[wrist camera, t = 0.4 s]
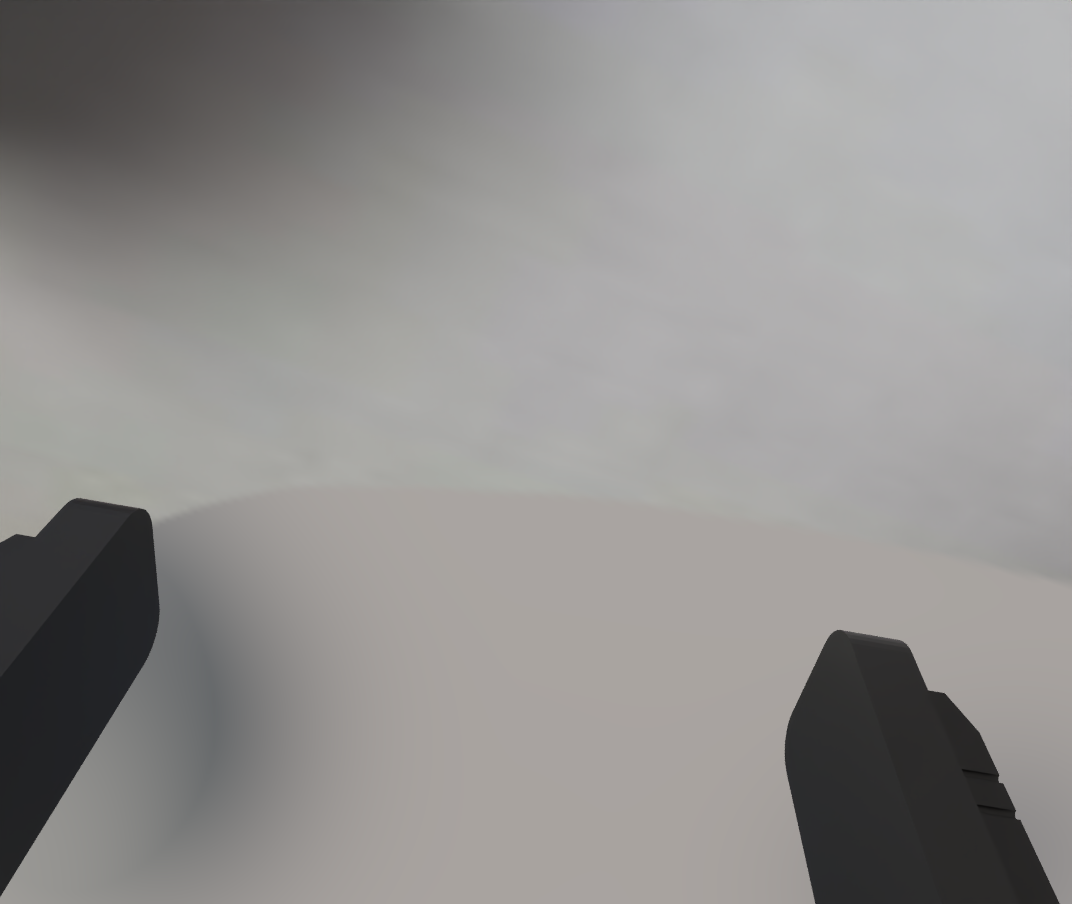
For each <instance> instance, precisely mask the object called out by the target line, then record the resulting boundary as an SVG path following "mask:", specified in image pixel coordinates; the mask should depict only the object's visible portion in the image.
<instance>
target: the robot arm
mask: <svg viewBox="0 0 1072 904" xmlns="http://www.w3.org/2000/svg"><path fill="white" fill-rule="evenodd" d="M159 610H160V609H159V596H158V585H157V573H156V564H155V551H154V540H153V529H152V521H151V518H150V515H149V514H148V512H147V511H146V510H144V509H140V508H134V507H128V506H123V505H117V504H111V503H105V502H99V501H93V500H87V499H82V498H76V499H73V500H71V501H70V502H68V503H67V504H66V505H65V506H64V507H63V508H62V509H61V510H60V511H59V512H58V513H57V514H56V515H55V516H54V517H53V519H52V520H51V521H50V522H49V523H48V524H47V525H46V526H45V527H44V528H43V529H42V530H41V532H40V533H39V534H38V535H37V536H36V537H30V536H24V535H19V534H16V535H14V536H12V537H10V538H8V539H6V540H5V541H3V542H1V543H0V896H1V895H2V893H3V891H4V890H5V888H6V887H7V885H8V883H9V882H10V880H11V878H12V877H13V875H14V874H15V872H16V870H17V869H18V867H19V866H20V864H21V862H22V861H23V859H24V857H25V856H26V854H27V853H28V851H29V849H30V848H31V846H32V845H33V843H34V841H35V840H36V838H37V836H38V835H39V833H40V832H41V830H42V828H43V827H44V825H45V824H46V822H47V820H48V819H49V817H50V815H51V814H52V812H53V811H54V809H55V807H56V806H57V804H58V802H59V801H60V799H61V798H62V796H63V794H64V793H65V791H66V790H67V788H68V786H69V784H70V783H71V781H72V780H73V778H74V777H75V775H76V773H77V772H78V770H79V769H80V766H81V765H82V764H83V762H84V760H85V759H86V757H87V756H88V754H89V752H90V751H91V749H92V747H93V746H94V744H95V743H96V741H97V739H98V738H99V736H100V734H101V733H102V731H103V730H104V728H105V726H106V724H107V723H108V722H109V720H110V718H111V717H112V715H113V714H114V712H115V710H116V709H117V707H118V705H119V704H120V702H121V700H122V699H123V697H124V696H125V694H126V692H127V691H128V689H129V688H130V686H131V684H132V683H133V681H134V680H135V678H136V676H137V675H138V673H139V671H140V670H141V668H142V667H143V665H144V663H145V661H146V660H147V658H148V656H149V653H150V651H151V649H152V646H153V643H154V640H155V637H156V633H157V628H158V622H159V612H160V611H159ZM785 765H786V771H787V775H788V781H789V785H790V790H791V794H792V799H793V803H794V808H795V813H796V817H797V822H798V826H799V831H800V835H801V840H802V845H803V849H804V853H805V858H806V863H807V867H808V872H809V876H810V881H811V886H812V890H813V895H814V899H815V903H816V904H1059V902H1058V899H1057V897H1056V895H1055V893H1054V891H1053V889H1052V887H1051V885H1050V883H1049V880H1048V878H1047V876H1046V874H1045V872H1044V870H1043V867H1042V865H1041V863H1040V861H1039V859H1038V857H1037V855H1036V853H1035V850H1034V848H1033V846H1032V844H1031V842H1030V840H1029V838H1028V835H1027V833H1026V831H1025V829H1024V827H1023V825H1022V823H1021V820H1017V819H1016V818H1015V812H1016V810H1015V808H1014V806H1013V803H1012V801H1011V799H1010V797H1009V795H1008V793H1007V791H1006V788H1005V787H1004V784H1002V783H999V781H998V777H999V774H998V771H997V769H996V767H995V765H994V763H993V761H992V759H991V757H990V754H989V752H988V750H987V748H986V746H985V744H984V742H983V740H982V737H981V735H980V733H979V732H978V731H977V730H976V728H975V727H974V726H973V725H972V724H971V723H970V721H969V720H968V719H967V718H966V717H965V716H964V715H963V714H962V712H961V711H960V710H959V709H958V708H957V707H956V706H955V704H954V703H953V702H952V701H951V700H950V699H949V698H948V697H947V695H946V694H945V693H940V692H934V691H928V690H927V687H926V685H925V682H924V680H923V678H922V676H921V673H920V671H919V668H918V666H917V664H916V661H915V659H914V657H913V654H912V652H911V650H910V648H909V647H908V646H907V644H905V643H904V642H903V641H900V640H894V639H889V638H883V637H878V636H872V635H866V634H860V633H854V632H848V631H843V630H837V631H835V632H833V633H832V634H831V635H830V636H829V638H828V639H827V641H826V643H825V645H824V647H823V649H822V651H821V653H820V655H819V657H818V660H817V662H816V664H815V666H814V668H813V670H812V673H811V674H810V676H809V679H808V681H807V683H806V685H805V687H804V689H803V691H802V693H801V696H800V698H799V700H798V702H797V704H796V706H795V708H794V710H793V712H792V715H791V717H790V720H789V723H788V728H787V734H786V740H785Z"/></svg>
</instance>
